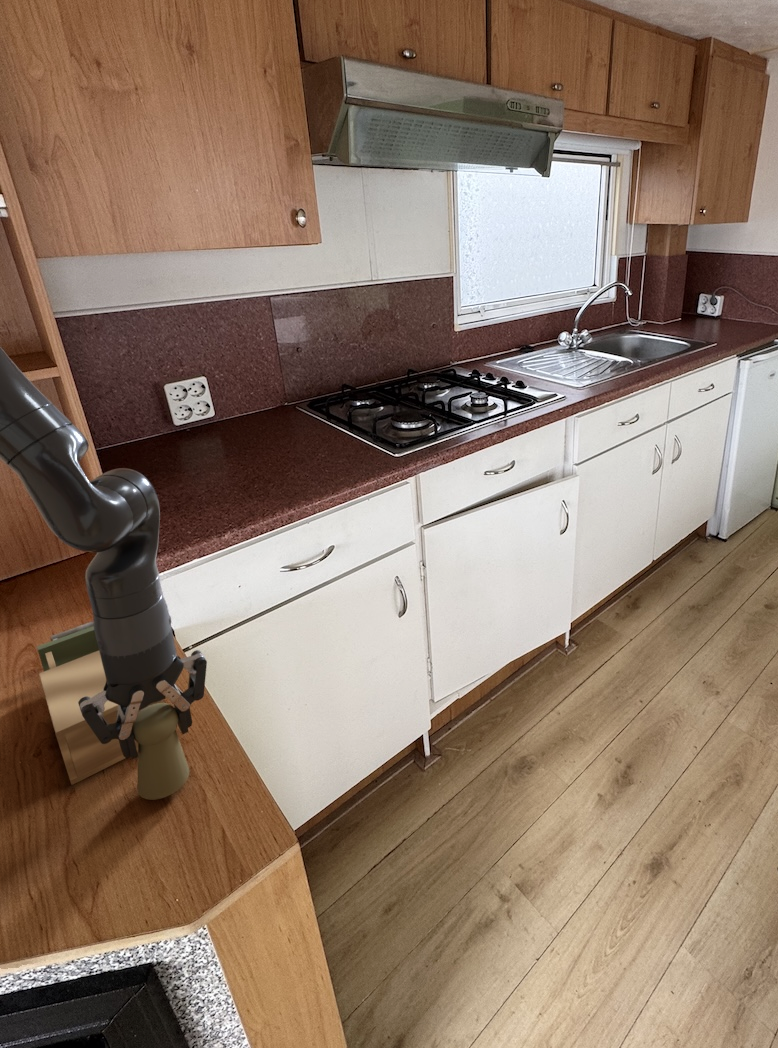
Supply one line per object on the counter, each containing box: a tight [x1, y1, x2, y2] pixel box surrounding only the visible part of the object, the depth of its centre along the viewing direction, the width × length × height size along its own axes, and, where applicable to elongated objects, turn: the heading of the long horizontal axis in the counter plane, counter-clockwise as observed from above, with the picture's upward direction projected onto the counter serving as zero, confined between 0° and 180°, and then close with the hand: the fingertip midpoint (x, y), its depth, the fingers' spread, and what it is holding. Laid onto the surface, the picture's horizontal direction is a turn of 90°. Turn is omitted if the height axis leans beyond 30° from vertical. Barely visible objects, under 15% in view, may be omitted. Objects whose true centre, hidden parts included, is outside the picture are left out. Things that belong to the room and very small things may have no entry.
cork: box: [131, 702, 191, 801], centre depth 75 cm, size 6×6×11 cm
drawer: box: [36, 621, 99, 672], centre depth 93 cm, size 19×11×7 cm, turn 44°
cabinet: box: [38, 651, 164, 786], centre depth 85 cm, size 15×12×9 cm
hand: (158, 741), depth 75 cm, fingers closed on cork, 5 cm apart
